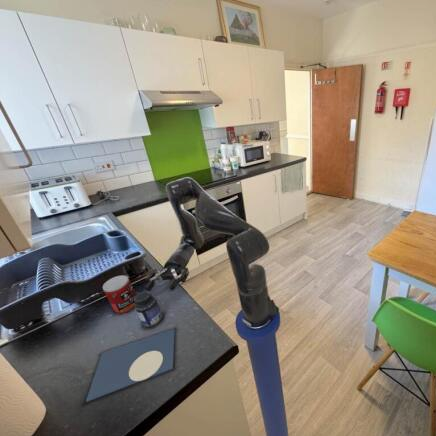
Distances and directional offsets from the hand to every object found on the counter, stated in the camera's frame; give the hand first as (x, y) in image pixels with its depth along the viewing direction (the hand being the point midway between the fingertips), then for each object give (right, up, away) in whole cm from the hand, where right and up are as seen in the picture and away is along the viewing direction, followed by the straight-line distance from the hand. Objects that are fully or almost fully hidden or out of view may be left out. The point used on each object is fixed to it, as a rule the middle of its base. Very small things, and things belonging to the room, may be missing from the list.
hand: (159, 289), depth 85 cm
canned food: (-13, -7, +3) cm, 15 cm away
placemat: (+3, -15, -17) cm, 23 cm away
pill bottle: (0, -9, -4) cm, 10 cm away
